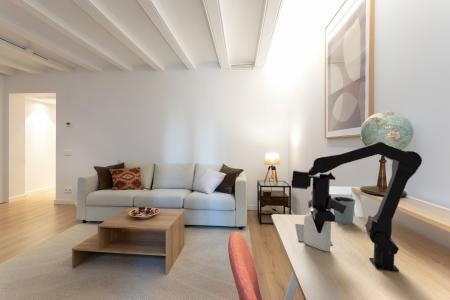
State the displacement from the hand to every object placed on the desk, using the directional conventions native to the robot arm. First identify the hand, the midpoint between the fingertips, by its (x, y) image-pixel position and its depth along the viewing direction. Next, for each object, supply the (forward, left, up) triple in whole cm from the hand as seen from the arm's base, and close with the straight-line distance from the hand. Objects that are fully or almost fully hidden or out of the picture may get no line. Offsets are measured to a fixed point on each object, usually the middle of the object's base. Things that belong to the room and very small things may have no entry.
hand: (319, 232), depth 83 cm
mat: (+18, 0, -8) cm, 20 cm away
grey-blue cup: (+39, -18, -8) cm, 44 cm away
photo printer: (+5, 0, -8) cm, 9 cm away
